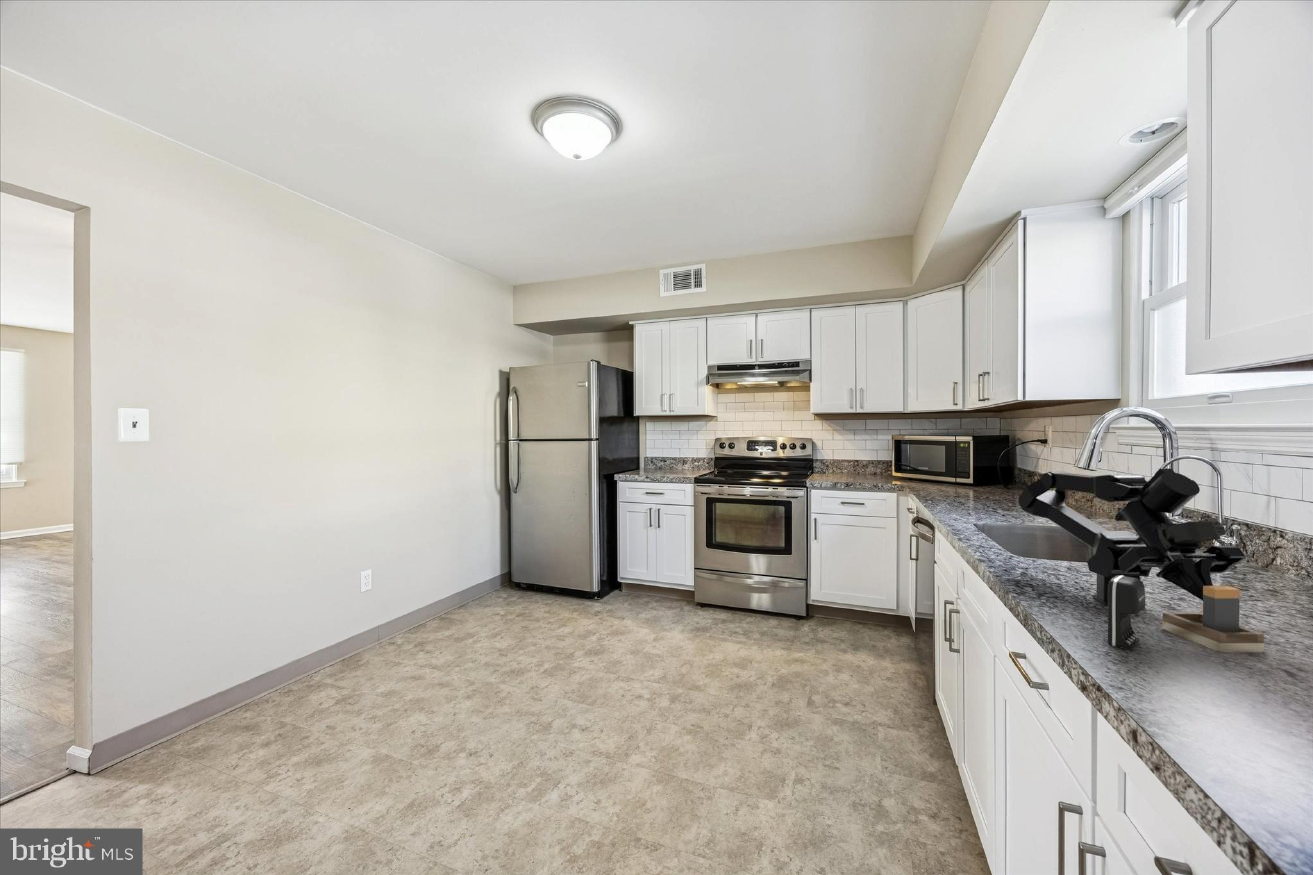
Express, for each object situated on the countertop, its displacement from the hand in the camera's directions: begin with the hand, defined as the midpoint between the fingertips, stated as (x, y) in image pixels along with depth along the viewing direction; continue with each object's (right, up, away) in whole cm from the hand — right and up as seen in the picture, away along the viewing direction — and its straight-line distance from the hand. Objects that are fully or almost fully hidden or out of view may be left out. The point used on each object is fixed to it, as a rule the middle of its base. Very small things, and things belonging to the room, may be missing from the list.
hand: (1213, 602), depth 90 cm
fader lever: (0, -5, -1) cm, 5 cm away
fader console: (0, -7, +1) cm, 7 cm away
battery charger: (-16, -7, -1) cm, 17 cm away
